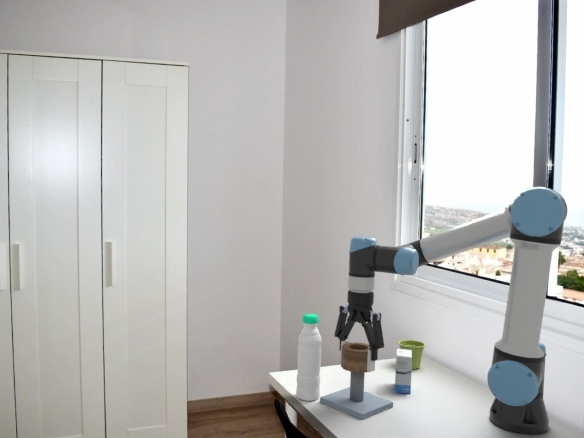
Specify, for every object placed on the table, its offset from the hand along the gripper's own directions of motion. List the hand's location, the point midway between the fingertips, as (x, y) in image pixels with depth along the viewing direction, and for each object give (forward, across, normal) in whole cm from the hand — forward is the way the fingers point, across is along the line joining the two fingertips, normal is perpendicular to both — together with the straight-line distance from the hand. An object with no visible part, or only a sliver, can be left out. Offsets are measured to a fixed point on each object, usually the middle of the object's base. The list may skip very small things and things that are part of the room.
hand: (357, 366), depth 160 cm
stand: (+11, 0, 0) cm, 11 cm away
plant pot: (+11, +10, -43) cm, 46 cm away
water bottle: (+12, +13, +7) cm, 18 cm away
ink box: (+11, -1, -22) cm, 25 cm away
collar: (0, 0, 0) cm, 0 cm away
